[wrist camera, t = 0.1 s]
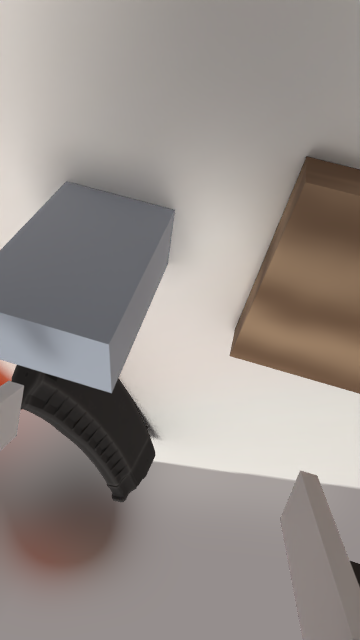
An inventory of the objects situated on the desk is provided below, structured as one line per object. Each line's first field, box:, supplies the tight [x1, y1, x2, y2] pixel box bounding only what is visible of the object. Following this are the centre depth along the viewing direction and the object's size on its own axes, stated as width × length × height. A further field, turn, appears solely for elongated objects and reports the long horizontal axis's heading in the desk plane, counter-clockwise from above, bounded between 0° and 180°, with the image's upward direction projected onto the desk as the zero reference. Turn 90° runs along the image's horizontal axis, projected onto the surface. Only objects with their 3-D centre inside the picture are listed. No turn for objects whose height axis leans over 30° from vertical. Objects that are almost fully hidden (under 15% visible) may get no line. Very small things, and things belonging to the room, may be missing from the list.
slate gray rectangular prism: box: [0, 181, 175, 393], centre depth 22 cm, size 5×8×12 cm, turn 82°
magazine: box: [11, 365, 155, 502], centre depth 42 cm, size 17×3×30 cm
